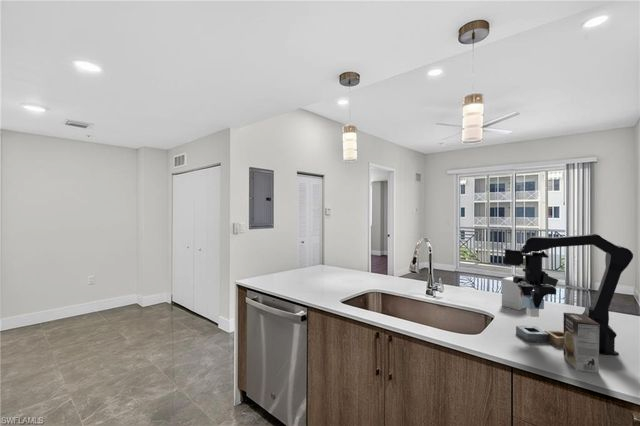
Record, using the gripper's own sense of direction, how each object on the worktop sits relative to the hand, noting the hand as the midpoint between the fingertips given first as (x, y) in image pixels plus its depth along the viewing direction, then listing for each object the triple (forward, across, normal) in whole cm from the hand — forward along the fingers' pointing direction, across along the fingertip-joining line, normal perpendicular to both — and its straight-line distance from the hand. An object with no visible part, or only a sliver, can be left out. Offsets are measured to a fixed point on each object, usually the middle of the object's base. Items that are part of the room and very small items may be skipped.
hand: (532, 305), depth 123 cm
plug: (+4, 0, 0) cm, 4 cm away
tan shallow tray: (+13, -4, -8) cm, 16 cm away
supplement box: (+14, +40, -15) cm, 45 cm away
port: (+13, 0, 0) cm, 13 cm away
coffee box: (+13, -21, -3) cm, 25 cm away
